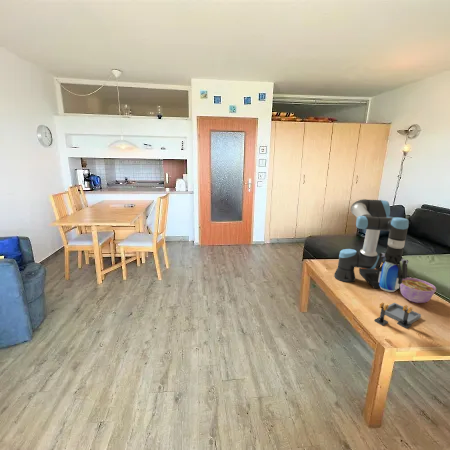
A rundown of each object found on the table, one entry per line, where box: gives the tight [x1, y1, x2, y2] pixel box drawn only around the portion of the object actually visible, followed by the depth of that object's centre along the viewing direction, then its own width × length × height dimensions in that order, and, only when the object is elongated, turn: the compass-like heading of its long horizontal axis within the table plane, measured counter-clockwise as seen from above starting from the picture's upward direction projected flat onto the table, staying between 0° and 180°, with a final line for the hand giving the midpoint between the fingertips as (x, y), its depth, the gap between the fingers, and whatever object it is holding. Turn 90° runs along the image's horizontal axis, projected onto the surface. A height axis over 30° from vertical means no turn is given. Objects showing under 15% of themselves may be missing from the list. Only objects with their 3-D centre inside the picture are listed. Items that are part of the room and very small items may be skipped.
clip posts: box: [374, 302, 413, 330], centre depth 145 cm, size 13×14×11 cm
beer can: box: [379, 260, 400, 293], centre depth 141 cm, size 8×8×16 cm
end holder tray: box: [384, 302, 422, 324], centre depth 154 cm, size 15×15×2 cm
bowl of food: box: [400, 277, 437, 304], centre depth 171 cm, size 20×20×12 cm
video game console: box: [358, 268, 411, 291], centre depth 196 cm, size 28×25×10 cm
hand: (388, 285), depth 142 cm, fingers closed on beer can, 8 cm apart
